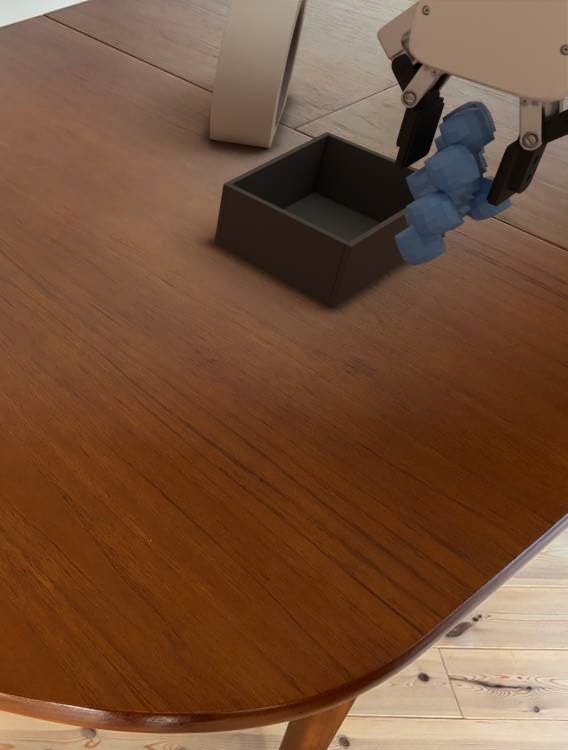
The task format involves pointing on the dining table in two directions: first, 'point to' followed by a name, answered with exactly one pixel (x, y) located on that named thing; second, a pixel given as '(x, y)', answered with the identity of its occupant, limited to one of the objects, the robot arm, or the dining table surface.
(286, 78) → the alarm clock
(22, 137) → the dining table surface
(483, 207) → the grapes
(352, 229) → the basket
